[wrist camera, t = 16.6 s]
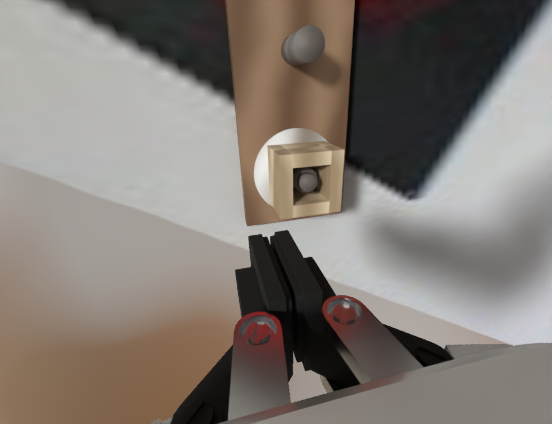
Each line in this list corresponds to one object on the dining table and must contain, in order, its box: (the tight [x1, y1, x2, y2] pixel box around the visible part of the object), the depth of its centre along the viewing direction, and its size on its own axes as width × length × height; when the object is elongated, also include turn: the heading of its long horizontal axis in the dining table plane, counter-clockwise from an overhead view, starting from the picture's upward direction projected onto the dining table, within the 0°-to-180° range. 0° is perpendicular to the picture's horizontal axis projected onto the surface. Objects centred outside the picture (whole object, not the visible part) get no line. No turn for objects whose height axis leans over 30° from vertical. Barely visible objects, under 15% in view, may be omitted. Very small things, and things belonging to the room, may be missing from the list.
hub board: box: [225, 0, 355, 226], centre depth 28 cm, size 12×24×6 cm, turn 2°
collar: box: [267, 141, 345, 220], centre depth 29 cm, size 6×6×5 cm
